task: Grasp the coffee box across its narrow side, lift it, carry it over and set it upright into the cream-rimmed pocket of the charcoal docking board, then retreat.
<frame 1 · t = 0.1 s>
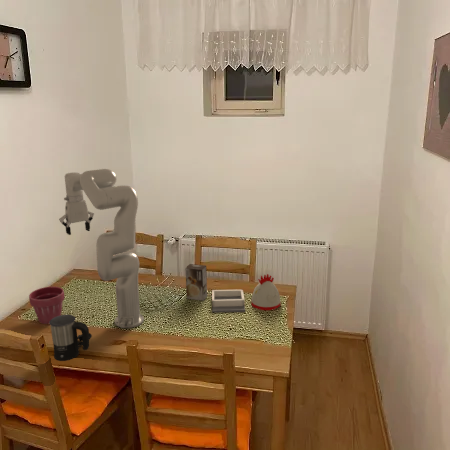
hand: (78, 232, 220), 31 cm above the table, tool pointing down, fingers open, 9 cm apart
milk frother: (73, 350, 175), on the table
grey red beanie hat: (265, 304, 213), on the table
plant pot: (49, 319, 199), on the table
coffee box: (197, 297, 220), on the table
dock: (227, 302, 214), on the table
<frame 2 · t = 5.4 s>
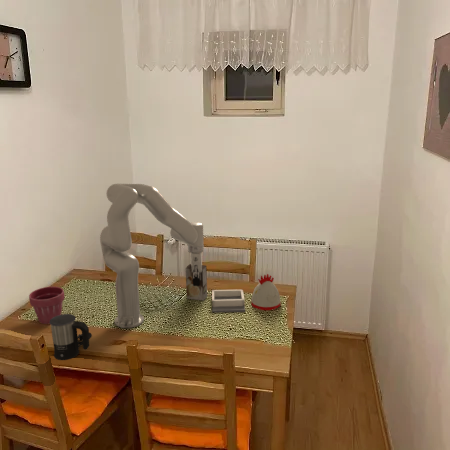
hand: (196, 282, 218), 8 cm above the table, tool pointing down, fingers closed on coffee box, 7 cm apart
coffee box: (197, 297, 220), on the table, touching gripper
everything else where it was.
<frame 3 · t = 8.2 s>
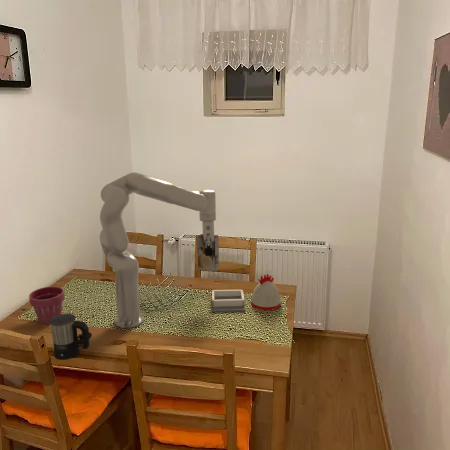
hand: (208, 252, 211), 24 cm above the table, tool pointing down, fingers closed on coffee box, 7 cm apart
coffee box: (208, 268, 213), point 16 cm above the table, touching gripper
everything else where it was.
when the fingers open (10 cm above the table, at t = 11.4 s): coffee box stays where it is, resting on dock.
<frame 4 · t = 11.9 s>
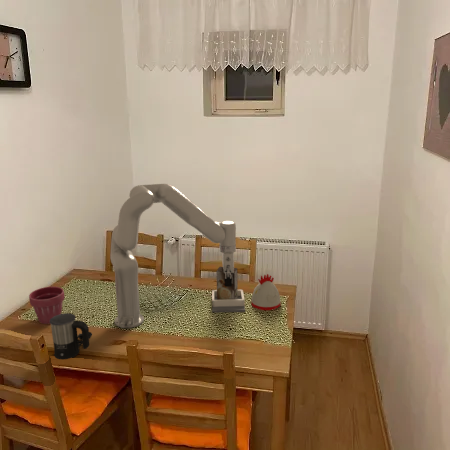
hand: (227, 282, 211), 11 cm above the table, tool pointing down, fingers open, 9 cm apart
coffee box: (227, 301, 214), point 1 cm above the table, touching dock
everything else where it was.
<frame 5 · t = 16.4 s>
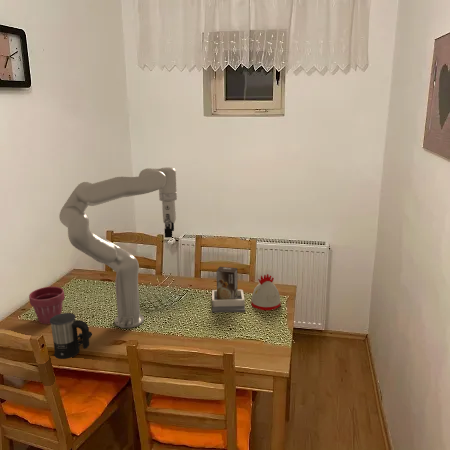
hand: (169, 234, 198), 36 cm above the table, tool pointing down, fingers open, 9 cm apart
at the end: coffee box 0.2 cm off-centre on the dock, point 0.8 cm above the dock's base; coffee box tilted 0°; the gripper is holding nothing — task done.
